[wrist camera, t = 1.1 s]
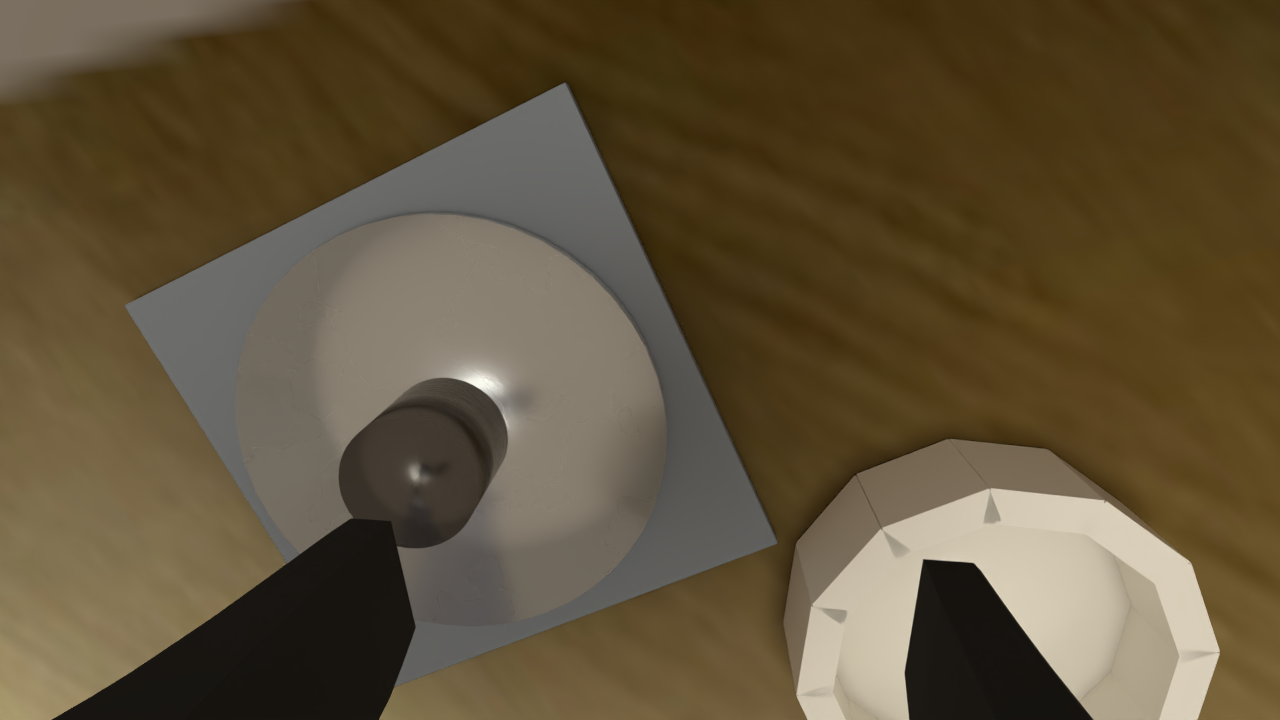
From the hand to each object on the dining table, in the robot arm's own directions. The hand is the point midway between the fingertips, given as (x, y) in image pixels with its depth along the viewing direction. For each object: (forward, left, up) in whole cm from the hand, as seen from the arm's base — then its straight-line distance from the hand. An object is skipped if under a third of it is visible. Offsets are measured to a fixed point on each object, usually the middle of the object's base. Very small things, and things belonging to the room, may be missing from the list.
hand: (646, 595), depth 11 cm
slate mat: (-7, 0, -13) cm, 15 cm away
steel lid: (-7, 0, -13) cm, 15 cm away
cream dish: (+5, -12, -13) cm, 18 cm away
